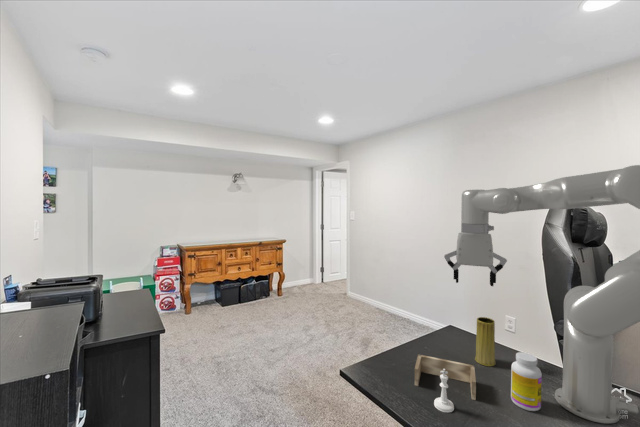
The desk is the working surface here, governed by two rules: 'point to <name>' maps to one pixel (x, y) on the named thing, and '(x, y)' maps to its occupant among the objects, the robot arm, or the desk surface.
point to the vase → (485, 341)
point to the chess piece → (444, 396)
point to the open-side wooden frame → (453, 368)
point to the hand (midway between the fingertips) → (473, 283)
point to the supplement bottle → (526, 382)
